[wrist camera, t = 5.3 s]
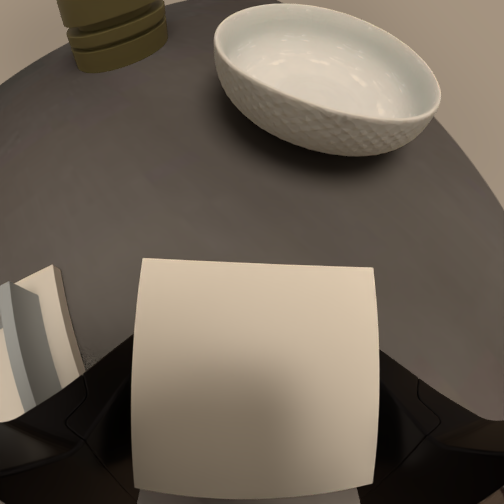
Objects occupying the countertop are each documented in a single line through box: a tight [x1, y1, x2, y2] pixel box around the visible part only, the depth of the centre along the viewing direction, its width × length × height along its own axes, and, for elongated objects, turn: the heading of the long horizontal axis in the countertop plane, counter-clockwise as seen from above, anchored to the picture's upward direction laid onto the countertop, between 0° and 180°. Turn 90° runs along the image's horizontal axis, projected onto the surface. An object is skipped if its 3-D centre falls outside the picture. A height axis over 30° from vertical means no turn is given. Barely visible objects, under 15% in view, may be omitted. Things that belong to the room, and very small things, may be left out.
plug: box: [131, 258, 379, 499], centre depth 10 cm, size 5×5×10 cm
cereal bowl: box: [214, 4, 441, 157], centre depth 19 cm, size 17×17×7 cm
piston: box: [57, 0, 168, 73], centre depth 19 cm, size 11×12×11 cm
